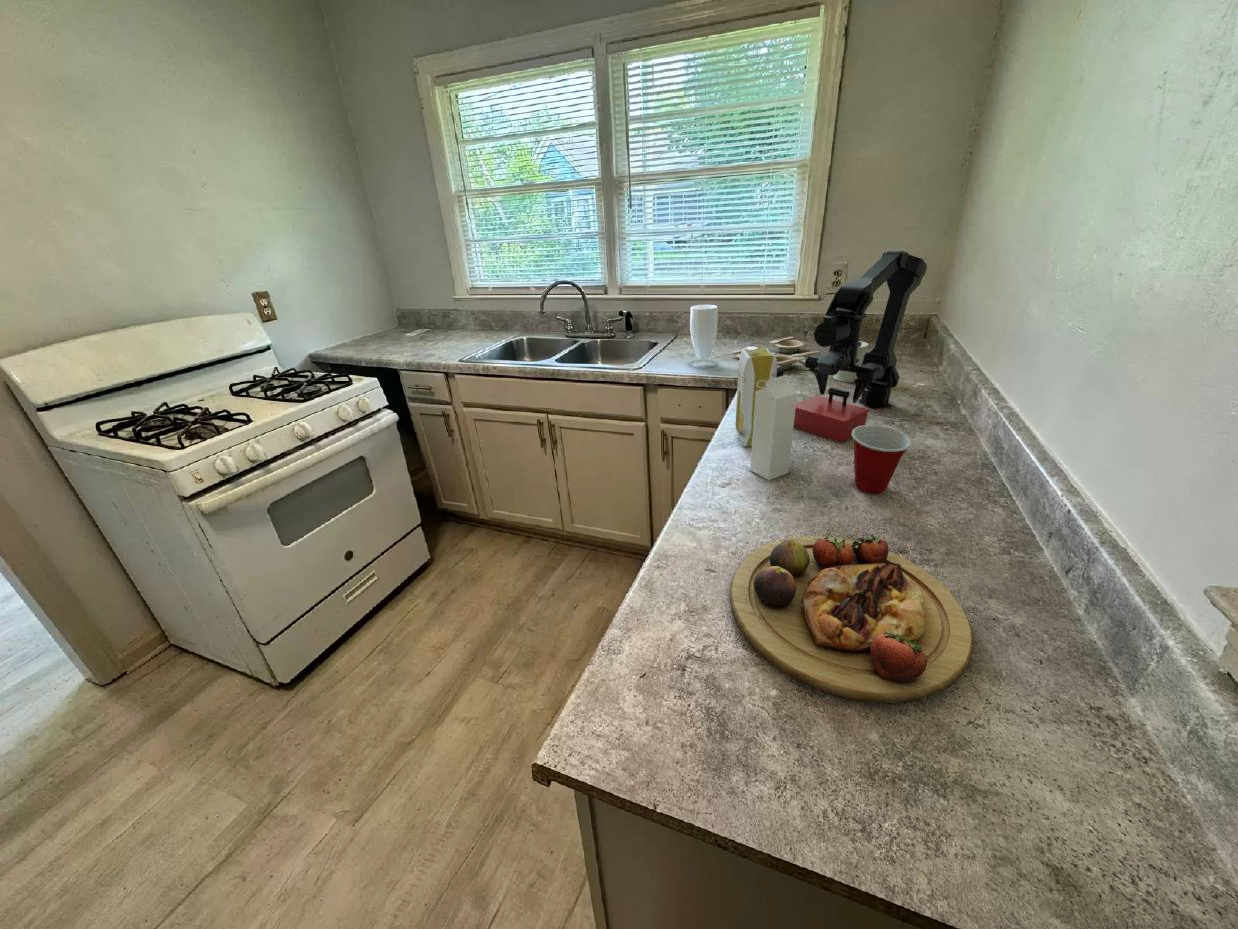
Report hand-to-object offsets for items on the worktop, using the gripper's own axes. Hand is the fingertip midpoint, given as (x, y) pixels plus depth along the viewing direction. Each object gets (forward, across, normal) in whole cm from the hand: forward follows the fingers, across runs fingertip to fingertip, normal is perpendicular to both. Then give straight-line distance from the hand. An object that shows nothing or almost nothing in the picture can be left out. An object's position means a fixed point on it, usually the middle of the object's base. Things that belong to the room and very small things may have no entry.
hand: (837, 398), depth 130 cm
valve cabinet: (+7, 0, -4) cm, 8 cm away
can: (+8, -19, +38) cm, 43 cm away
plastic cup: (+7, +24, -25) cm, 35 cm away
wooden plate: (+7, +40, -62) cm, 74 cm away
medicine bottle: (+7, -20, -1) cm, 21 cm away
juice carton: (+7, -8, -24) cm, 26 cm away
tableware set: (+8, -48, +43) cm, 65 cm away
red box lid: (+2, 0, -4) cm, 4 cm away
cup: (+8, -66, +18) cm, 69 cm away
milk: (+7, +6, -34) cm, 35 cm away
